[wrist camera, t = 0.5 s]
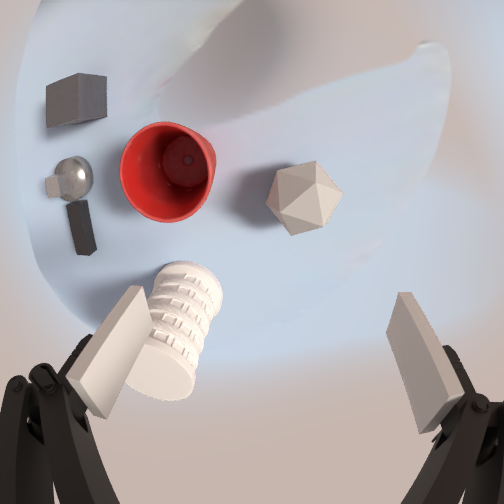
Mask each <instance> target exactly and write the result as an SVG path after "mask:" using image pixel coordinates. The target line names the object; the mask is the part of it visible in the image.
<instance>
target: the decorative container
mask: <svg viewBox="0 0 504 504" xmlns="http://www.w3.org/2000/svg"><path fill="white" fill-rule="evenodd" d="M222 299H223V293H222V288H221V286H220V283H219V281H218V280H217V278H216V277H215V276H214V274H213V273H211V272H210V271H209V270H208V269H207V268H205V267H203V266H201V265H199V264H197V263H194V262H190V261H176V262H172V263H169V264H168V265H166V266H164V267H163V268H162V269H161V271H160V272H159V273H158V274H157V276H156V278H155V281H154V288H153V291H152V292H151V295H150V296H149V298H147V304H148V308H149V311H150V315H151V318H152V322H153V325H154V327H153V329H152V330H151V332H150V334H149V336H148V338H147V340H146V342H145V344H144V346H143V347H142V349H141V351H140V353H139V355H138V357H137V359H136V361H135V363H134V365H133V367H132V369H131V371H130V373H129V375H128V377H127V379H126V381H125V383H126V384H127V385H129V386H130V387H132V388H133V389H135V390H136V391H138V392H140V393H142V394H144V395H146V396H149V397H152V398H155V399H159V400H165V401H176V400H181V399H184V398H186V397H188V396H189V395H190V394H191V392H192V391H193V388H194V385H195V379H196V375H195V372H194V371H195V369H196V367H197V365H198V355H199V354H200V353H201V351H202V349H203V346H204V338H205V337H206V336H207V333H208V329H209V324H210V322H211V320H212V318H213V317H214V316H216V315H217V313H218V311H219V310H220V307H221V304H222Z"/></svg>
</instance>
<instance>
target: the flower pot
mask: <svg viewBox="0 0 504 504" xmlns="http://www.w3.org/2000/svg"><path fill="white" fill-rule="evenodd" d="M215 168H216V155H215V151H214V149H213V147H212V145H211V144H210V143H209V142H208V141H207V140H206V139H205V138H204V137H202V136H201V135H200V134H198V133H196V132H195V131H193V130H191V129H189V128H187V127H185V126H182V125H179V124H176V123H172V122H157V123H153V124H150V125H148V126H146V127H144V128H142V129H141V130H139V131H138V132H137V133H136V134H135V135H134V136H133V137H132V138H131V139H130V141H129V142H128V144H127V145H126V147H125V149H124V151H123V154H122V157H121V162H120V181H121V185H122V188H123V191H124V193H125V195H126V197H127V199H128V201H129V202H130V203H131V205H132V206H133V207H134V208H135V209H136V210H137V211H138V212H139V213H141V214H142V215H144V216H145V217H147V218H149V219H151V220H154V221H158V222H164V223H172V222H178V221H181V220H184V219H186V218H188V217H190V216H192V215H193V214H194V213H196V212H197V211H198V210H199V209H200V208H201V206H202V205H203V204H204V202H205V201H206V199H207V197H208V195H209V192H210V189H211V186H212V183H213V178H214V174H215Z"/></svg>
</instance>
